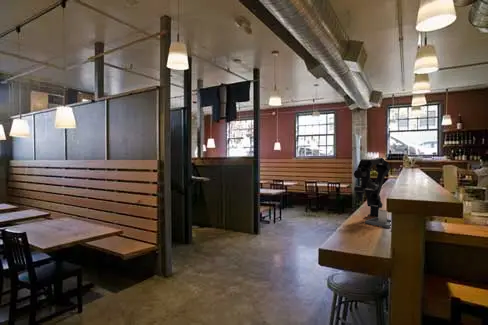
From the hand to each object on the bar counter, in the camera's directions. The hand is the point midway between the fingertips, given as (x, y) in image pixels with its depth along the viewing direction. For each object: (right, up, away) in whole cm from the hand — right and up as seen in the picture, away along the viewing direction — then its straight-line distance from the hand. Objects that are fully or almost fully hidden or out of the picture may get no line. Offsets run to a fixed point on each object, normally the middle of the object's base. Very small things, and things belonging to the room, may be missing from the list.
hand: (364, 200), depth 213 cm
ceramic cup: (+5, -12, -15) cm, 20 cm away
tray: (+5, -13, -15) cm, 20 cm away
